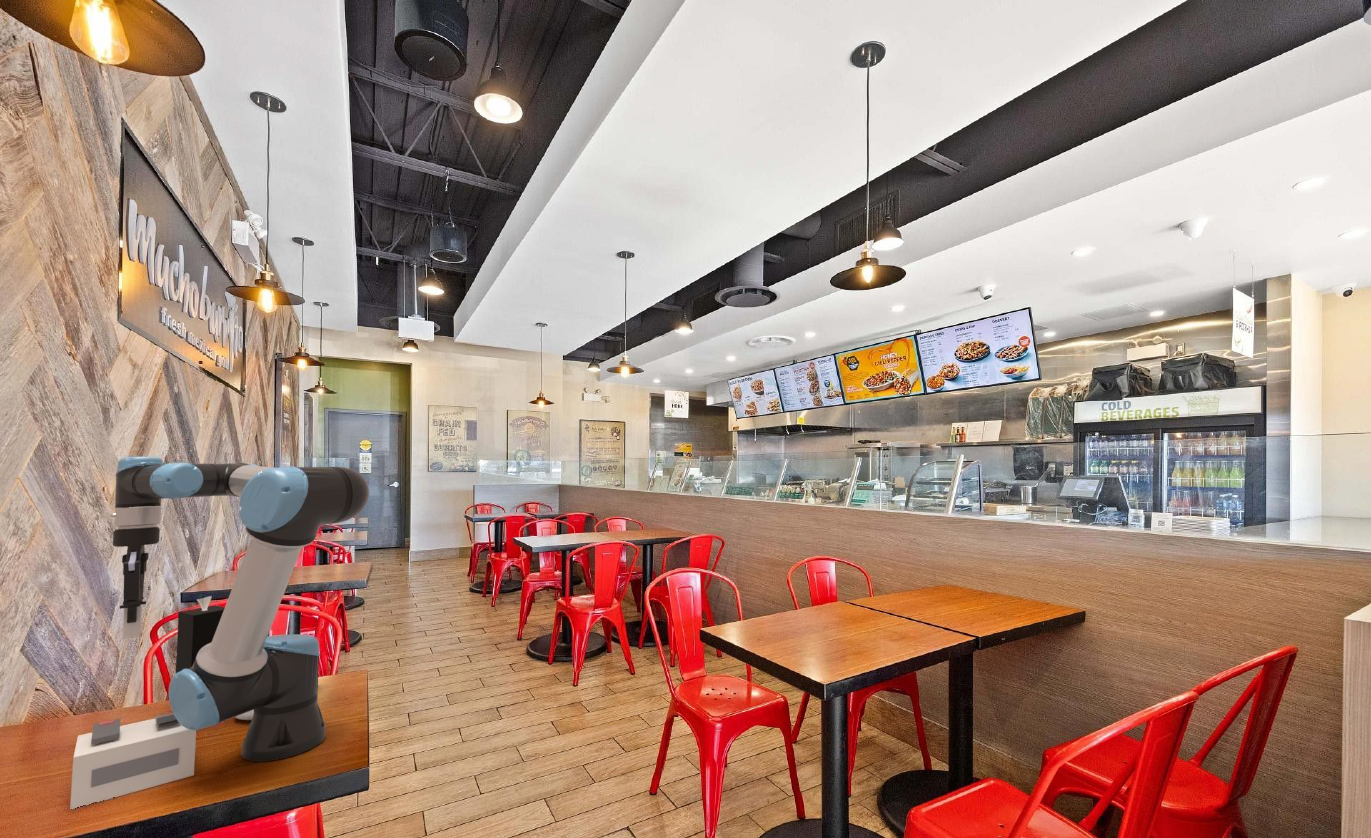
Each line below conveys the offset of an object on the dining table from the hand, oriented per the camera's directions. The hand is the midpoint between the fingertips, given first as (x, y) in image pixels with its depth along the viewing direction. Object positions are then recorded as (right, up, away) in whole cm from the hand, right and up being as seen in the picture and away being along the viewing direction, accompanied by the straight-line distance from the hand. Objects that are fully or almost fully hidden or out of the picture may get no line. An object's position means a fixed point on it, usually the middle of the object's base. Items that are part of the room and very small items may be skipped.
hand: (131, 637), depth 128 cm
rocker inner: (+16, -13, -9) cm, 22 cm away
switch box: (+12, -23, -13) cm, 29 cm away
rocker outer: (+9, -12, -15) cm, 21 cm away
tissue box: (-2, -26, +20) cm, 33 cm away
